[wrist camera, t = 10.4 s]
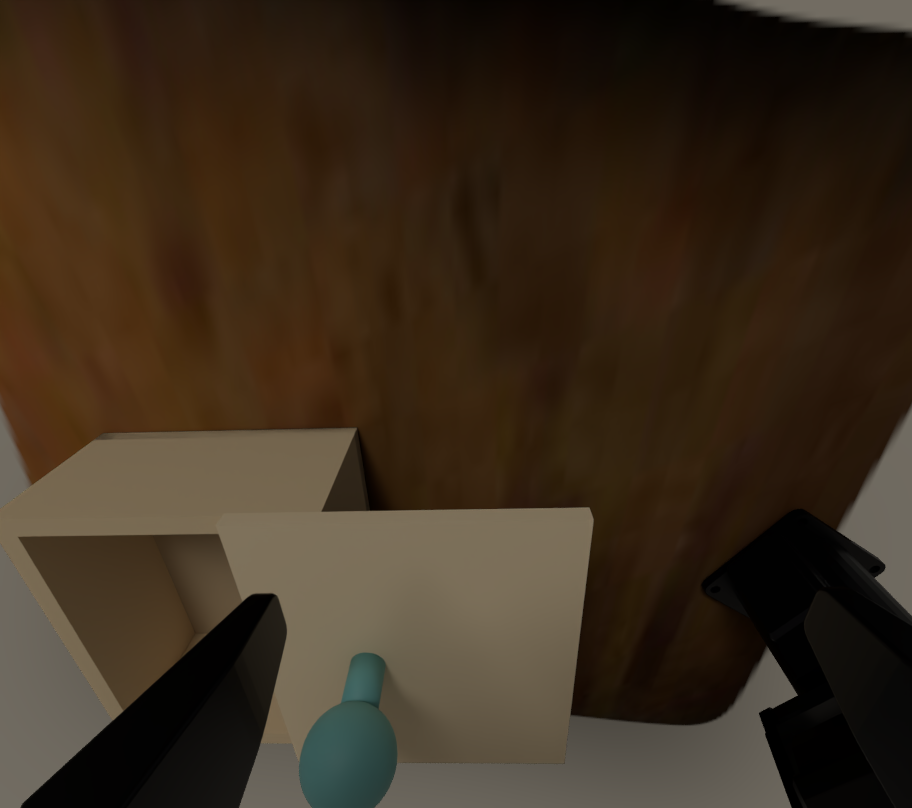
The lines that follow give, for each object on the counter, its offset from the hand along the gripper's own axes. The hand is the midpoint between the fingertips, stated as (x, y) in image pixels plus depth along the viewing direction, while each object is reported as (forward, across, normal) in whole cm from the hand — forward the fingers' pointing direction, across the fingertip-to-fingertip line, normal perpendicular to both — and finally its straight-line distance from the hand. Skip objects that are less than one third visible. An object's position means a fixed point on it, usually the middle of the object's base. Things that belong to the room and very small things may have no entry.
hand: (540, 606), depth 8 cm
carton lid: (+7, +4, +11) cm, 13 cm away
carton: (+13, +12, +11) cm, 21 cm away
